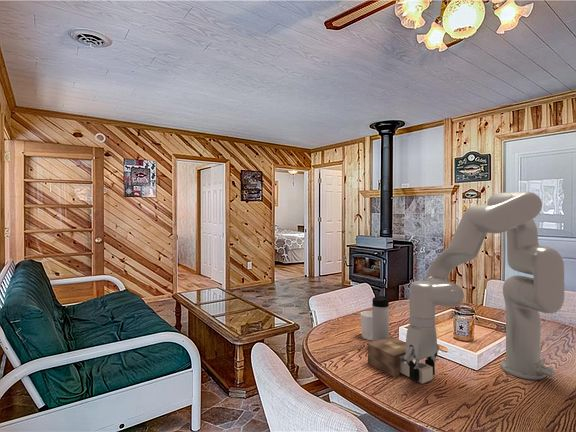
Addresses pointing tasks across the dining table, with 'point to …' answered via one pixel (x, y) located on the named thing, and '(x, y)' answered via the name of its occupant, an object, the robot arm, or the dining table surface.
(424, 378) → the cream rectangular block
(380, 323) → the travel mug
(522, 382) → the dining table surface
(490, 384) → the dining table surface
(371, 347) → the box
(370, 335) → the white cup
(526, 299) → the robot arm
